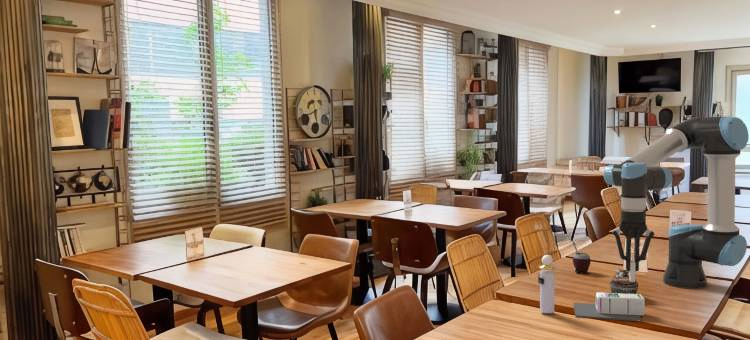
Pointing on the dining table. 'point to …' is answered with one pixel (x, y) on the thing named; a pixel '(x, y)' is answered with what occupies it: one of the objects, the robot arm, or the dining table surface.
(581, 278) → the dining table surface
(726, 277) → the dining table surface
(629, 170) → the robot arm
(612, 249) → the dining table surface
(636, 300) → the syrup box
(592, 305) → the topple mat
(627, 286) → the cupcake
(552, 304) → the perfume bottle
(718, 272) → the dining table surface
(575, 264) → the mate gourd
